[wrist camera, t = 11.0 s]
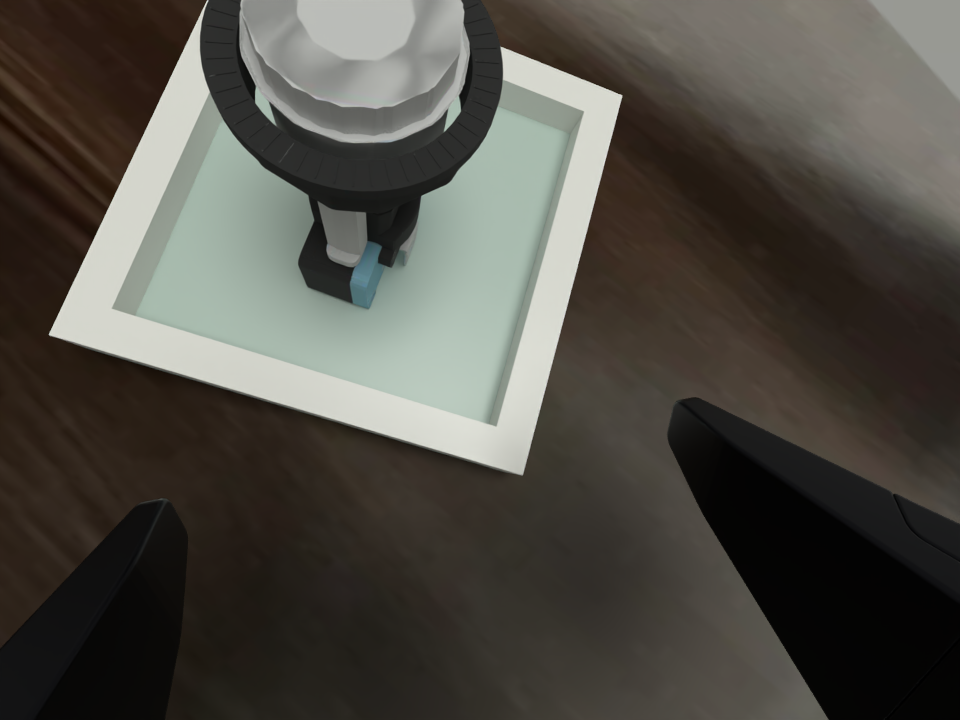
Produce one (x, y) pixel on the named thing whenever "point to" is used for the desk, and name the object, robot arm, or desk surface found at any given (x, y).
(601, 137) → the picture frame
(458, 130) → the push button
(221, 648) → the desk surface
